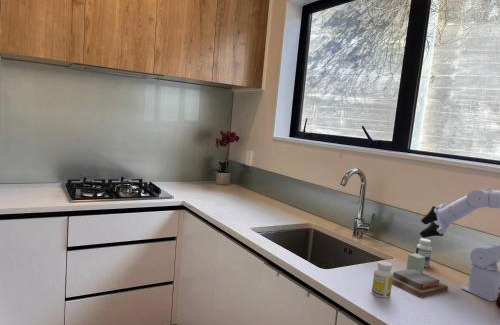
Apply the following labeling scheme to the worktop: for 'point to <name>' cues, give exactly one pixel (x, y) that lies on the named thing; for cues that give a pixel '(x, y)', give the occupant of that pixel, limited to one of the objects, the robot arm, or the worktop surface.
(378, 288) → the supplement bottle
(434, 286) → the stepped stand
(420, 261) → the green block
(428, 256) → the pill bottle
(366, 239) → the worktop surface
